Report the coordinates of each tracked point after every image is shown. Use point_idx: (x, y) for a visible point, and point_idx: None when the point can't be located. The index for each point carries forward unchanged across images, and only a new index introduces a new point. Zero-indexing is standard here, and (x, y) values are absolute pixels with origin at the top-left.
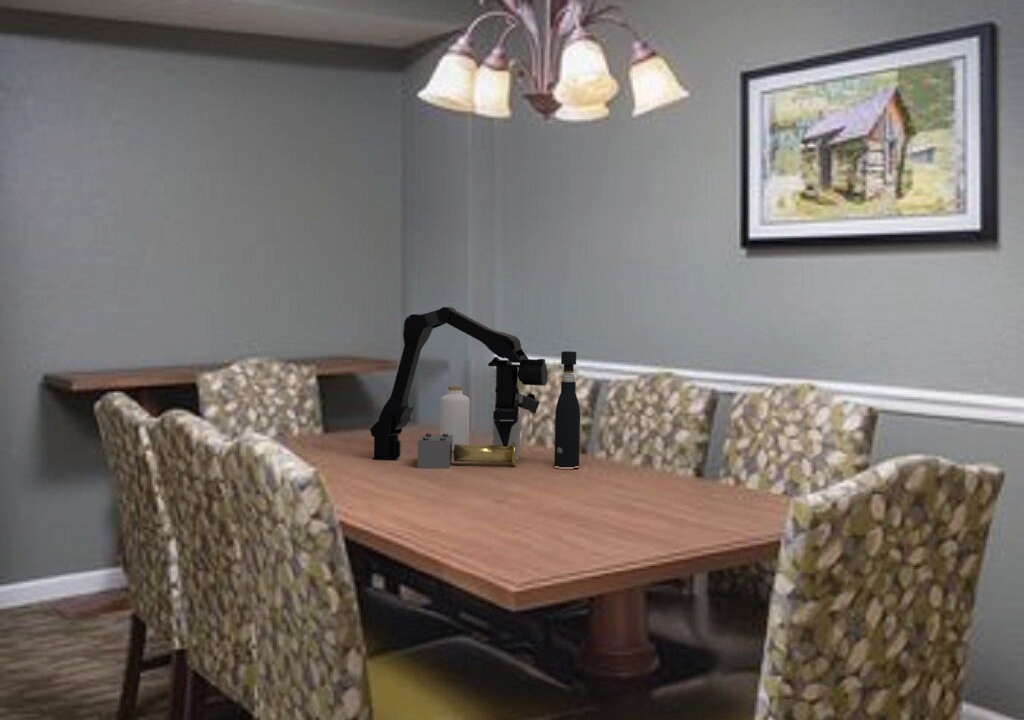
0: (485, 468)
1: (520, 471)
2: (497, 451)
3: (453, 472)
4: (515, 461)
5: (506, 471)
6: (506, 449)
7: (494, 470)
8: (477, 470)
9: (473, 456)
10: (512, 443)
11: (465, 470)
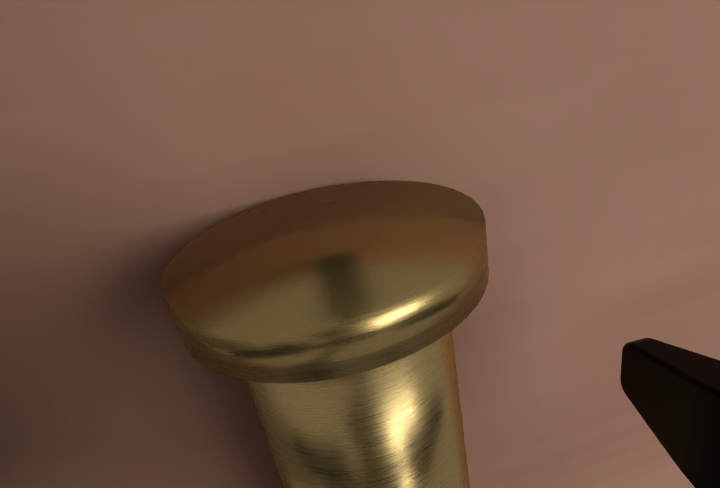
0: (482, 380)
1: (600, 74)
2: (459, 423)
3: (666, 476)
4: (424, 187)
5: (609, 196)
6: (446, 357)
7: (568, 296)
8: (581, 395)
9: None
10: (419, 349)
11: (588, 452)
